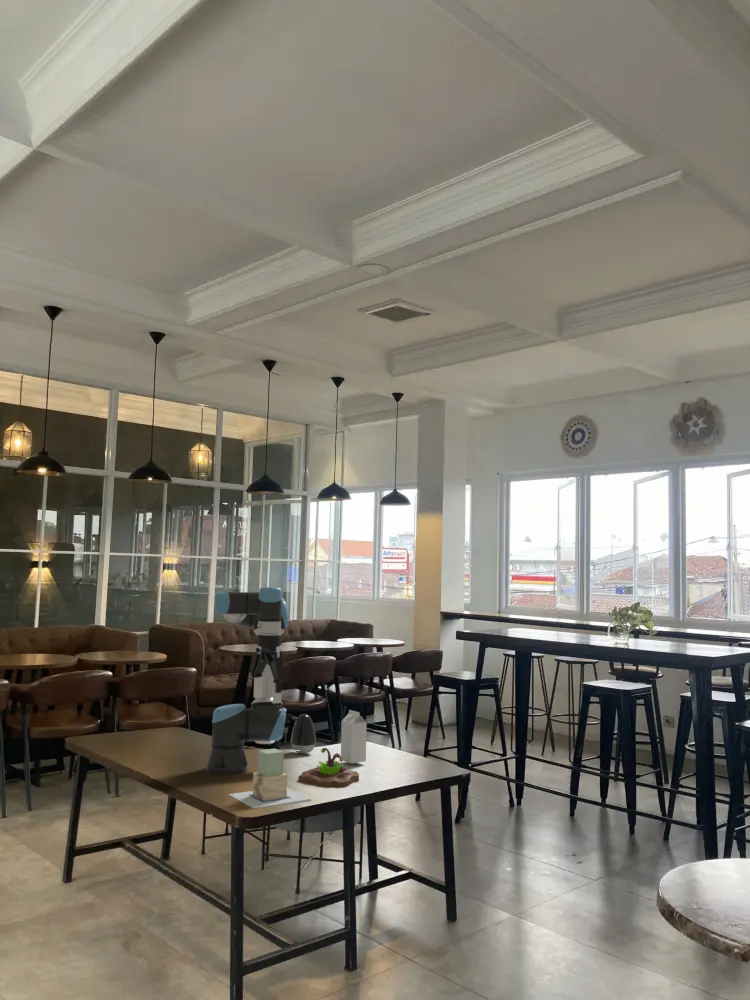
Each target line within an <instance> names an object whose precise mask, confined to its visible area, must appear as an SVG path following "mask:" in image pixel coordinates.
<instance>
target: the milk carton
mask: <svg viewBox="0 0 750 1000" xmlns="http://www.w3.org/2000/svg"><path fill="white" fill-rule="evenodd" d="M360 714H361V713H360V712H359V711H355V710H351V709H348V713H347V715H345V717H344V718H343V719H342V720H341V727H340V728H341V732H340V733H341V735H340V737H341V738H340V756H341V757H342V758H343V761H342V762H344V763H348V764H356V763H365V762H366V761H367V728H368V727H367V721H366V720H365V719H364V718H363V717H362V716H361V715H360Z"/></svg>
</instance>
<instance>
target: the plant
mask: <svg viewBox="0 0 750 1000" xmlns="http://www.w3.org/2000/svg"><path fill="white" fill-rule="evenodd" d="M320 752H321V753H322V754H324V753H325V752H327V760H326V761H325V763H324V762H323V761H318V764H316V765H315V766H316V767H314V768H312V769H308V770H305V771H302V772H301V773H300V775H299V776H298V777H297V778H298V780H297V781H298V782H299V783H304V782H306V783H305V784H308V783H309V785H313V784H314V786H317V785H318V787H323V788H324V787H325V788H333V787H334V788H339V789H340V788H346V787H349V786H350V785H352V784H353V783H357V782H359V781H360V774H359V772H358V771H355V770H350V769H349V768H346V767H344V765H345V764H340V765H339V763H342V762H344V761H343V758H342V757H341V753H334V754H333V756H331V752H330V750H329V749H328V748H326V747H322V748H321V750H320ZM336 758H337V759H339V761H337V760H336Z"/></svg>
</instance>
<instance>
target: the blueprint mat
mask: <svg viewBox="0 0 750 1000" xmlns="http://www.w3.org/2000/svg"><path fill="white" fill-rule="evenodd" d="M228 796H230V797H231V798H233V799H235V800H236V801H240V802H241V803H242V804H244V805H246V806H248V807H250V808H252V809H253V808H254V809H260V808H268V807H274V806H275V807H276V806H281V805H282V806H283V805H289V804H291V805H292V804H298V803H305V802H306V801H307V802H311V801H312V799H311V797H308V796H306V795H304V794H301V793H300V792H298V791H296V790H293V789H292V788H290V787H287V798H280V799H273V800H267V801H263V800H261V799H259V798H257V797H255V796H253V790H250V791H248V790H247V791H243V792H235V793H229V794H228Z"/></svg>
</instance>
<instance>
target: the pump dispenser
mask: <svg viewBox="0 0 750 1000" xmlns="http://www.w3.org/2000/svg"><path fill="white" fill-rule="evenodd" d="M290 718H291V719H292V720H294V721H295V722H294V725H293V728H292V731H291V738H290V744H291V746H292V750H293V751H294V750H300V751H295V752H296V753H297V754H309V753H310V752H313V750H314V748H315V746H316V744H317V737H316V730H315V729H316V728H315V726H314V723H313V720H312V718H311V716H310V715H309V714H307V713H302V714H300V715H299V716H298V717H297V716H294V715H291V717H290Z"/></svg>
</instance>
